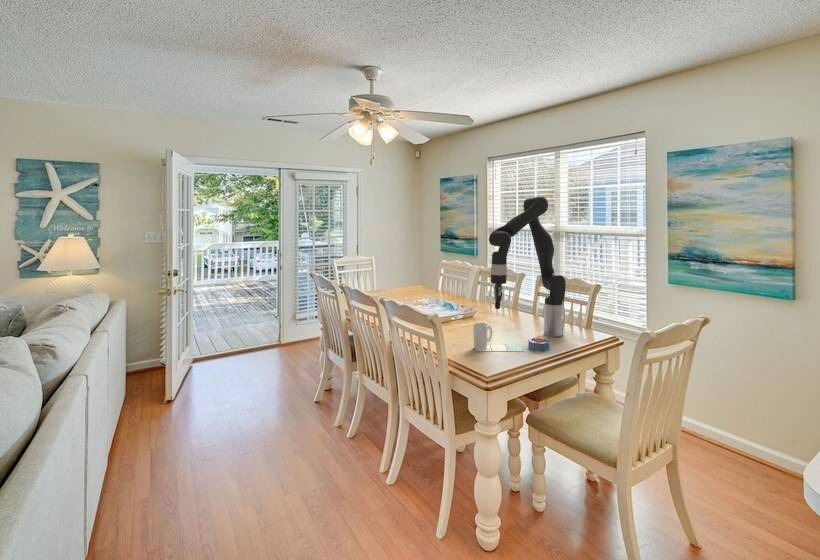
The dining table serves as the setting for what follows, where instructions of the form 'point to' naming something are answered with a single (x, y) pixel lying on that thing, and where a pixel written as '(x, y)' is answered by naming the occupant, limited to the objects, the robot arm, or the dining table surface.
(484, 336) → the mug
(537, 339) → the dome button
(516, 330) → the dining table surface
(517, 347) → the board
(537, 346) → the blue ribbed round dish
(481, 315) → the dining table surface
